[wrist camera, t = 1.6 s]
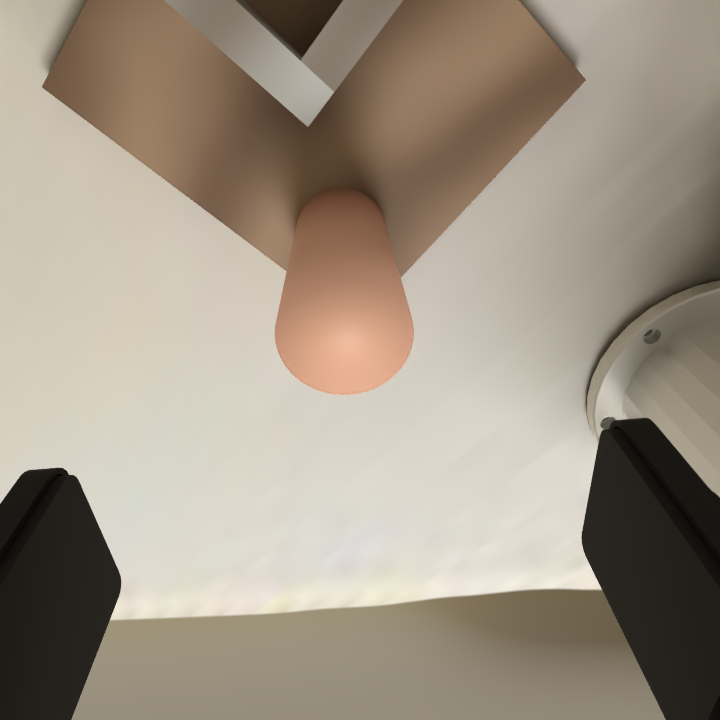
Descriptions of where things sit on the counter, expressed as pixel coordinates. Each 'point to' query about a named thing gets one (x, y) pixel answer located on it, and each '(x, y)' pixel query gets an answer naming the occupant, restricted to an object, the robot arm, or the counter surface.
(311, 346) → the peg
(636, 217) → the counter surface
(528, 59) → the socket board
